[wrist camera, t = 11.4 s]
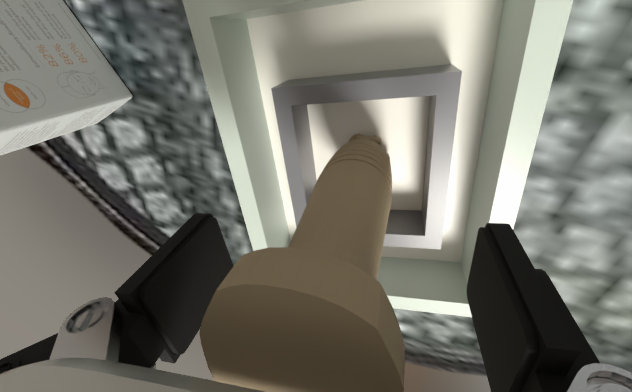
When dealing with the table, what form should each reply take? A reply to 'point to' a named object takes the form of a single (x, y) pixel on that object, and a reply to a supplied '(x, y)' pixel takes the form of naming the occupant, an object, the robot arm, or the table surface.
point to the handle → (315, 293)
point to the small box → (50, 75)
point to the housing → (384, 116)
